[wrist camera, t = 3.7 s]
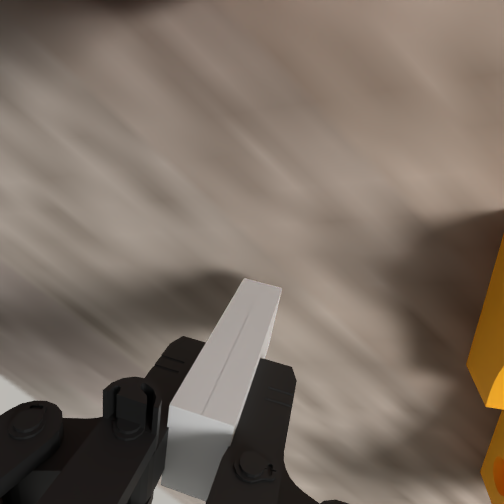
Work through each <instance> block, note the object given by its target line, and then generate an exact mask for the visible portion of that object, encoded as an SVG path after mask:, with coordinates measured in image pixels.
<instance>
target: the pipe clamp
mask: <svg viewBox="0 0 504 504" xmlns="http://www.w3.org/2000/svg"><path fill="white" fill-rule="evenodd" d="M466 366H467V368H468V370H469V372H470V374H471V376H472V379H473V381H474V383H475V385H476V387H477V389H478V391H479V394H480V396H481V398H482V400H483V402H484V404H485V406H486V407H490V408H496V409H502V411H501V414H500V417H499V420H498V422H497V425H496V428H495V431H494V434H493V437H492V439H491V442H490V445H489V448H488V451H487V454H486V456H485V459H484V462H483V465H482V468H481V471H480V473H481V476H482V478H483V481H484V484H485V486H486V489H487V492H488V495H489V497H490V500H491V503H492V504H504V234H503V238H502V241H501V245H500V248H499V252H498V255H497V259H496V262H495V266H494V269H493V273H492V276H491V280H490V283H489V287H488V290H487V294H486V297H485V301H484V304H483V308H482V311H481V315H480V318H479V322H478V325H477V328H476V332H475V335H474V339H473V342H472V346H471V349H470V353H469V356H468V360H467V363H466Z"/></svg>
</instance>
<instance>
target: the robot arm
mask: <svg viewBox="0 0 504 504" xmlns="http://www.w3.org/2000/svg"><path fill="white" fill-rule="evenodd" d="M281 292H282V288H280V287H277V286H273V285H269V284H265V283H262V282H258V281H254V280H250V279H246V278H244V279H243V281H242V282H241V284H240V286H239V287H238V289H237V291H236V293H235V294H234V296H233V298H232V299H231V301H230V303H229V304H228V306H227V308H226V310H225V311H224V313H223V315H222V316H221V318H220V320H219V321H218V323H217V325H216V327H215V328H214V330H213V332H212V333H211V335H210V337H209V338H208V340H207V342H206V343H205V342H202V341H198V340H195V339H192V338H188V337H185V336H182V337H181V338H179V339H177V340H175V341H174V342H172V343H170V344H169V346H168V347H167V348H166V350H165V351H164V352H163V354H162V356H161V357H160V358H159V359H158V361H157V362H156V363H155V366H153V367H152V369H151V370H150V371H149V373H148V374H147V376H146V377H145V378H139V377H129V378H122V379H120V380H117V381H115V382H113V383H111V384H110V385H109V386H107V387H106V388H105V389H104V390H103V417H99V418H91V419H79V418H62V411H61V410H60V409H59V408H58V406H57V405H55V404H53V403H50V402H48V401H31V402H27V403H22V404H20V405H18V406H16V407H14V408H12V409H10V410H8V411H7V412H5V413H4V414H2V415H0V504H151V503H152V499H153V491H154V489H155V487H156V485H157V483H158V481H159V479H160V477H161V475H162V481H161V485H162V486H165V487H168V488H170V489H173V490H176V491H179V492H181V493H184V494H187V495H190V496H192V497H195V498H198V499H201V500H203V501H206V504H319V503H318V502H317V501H315V500H314V499H312V498H311V497H310V496H308V495H307V494H306V493H304V492H303V491H302V490H301V489H300V488H298V487H297V486H296V485H295V483H294V482H293V481H292V479H291V478H290V477H289V475H288V473H287V470H286V468H285V464H284V448H285V443H286V437H287V431H288V426H289V420H290V415H291V408H292V403H293V398H294V392H295V386H296V378H295V375H294V372H293V369H292V367H290V366H287V365H283V364H280V363H276V362H273V361H270V360H266V359H265V357H266V354H267V350H268V347H269V343H270V339H271V335H272V330H273V326H274V322H275V317H276V313H277V309H278V304H279V300H280V296H281ZM320 504H348V503H345V502H342V501H338V500H328V501H323V502H322V503H320Z"/></svg>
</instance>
